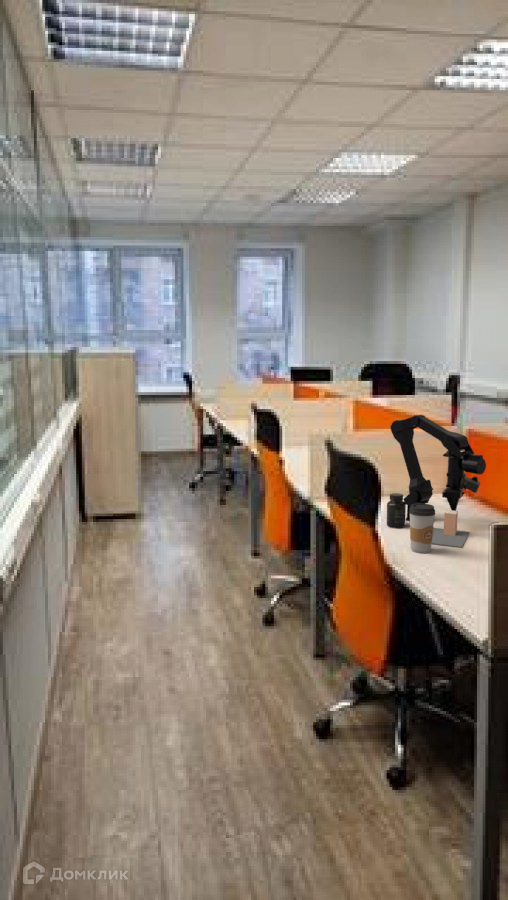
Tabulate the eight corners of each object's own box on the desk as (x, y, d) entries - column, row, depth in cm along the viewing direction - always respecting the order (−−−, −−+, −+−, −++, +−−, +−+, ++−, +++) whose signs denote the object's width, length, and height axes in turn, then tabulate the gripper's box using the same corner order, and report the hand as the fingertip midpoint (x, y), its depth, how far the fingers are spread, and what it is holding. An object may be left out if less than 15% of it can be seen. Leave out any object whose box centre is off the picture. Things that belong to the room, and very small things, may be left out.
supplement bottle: (406, 524, 252) (408, 493, 250) (402, 529, 246) (404, 497, 244) (388, 522, 255) (389, 491, 253) (384, 527, 249) (385, 495, 247)
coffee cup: (419, 555, 217) (421, 510, 214) (402, 548, 224) (404, 504, 221) (439, 552, 221) (441, 507, 218) (421, 545, 228) (423, 501, 225)
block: (443, 534, 239) (444, 512, 237) (445, 531, 242) (446, 509, 241) (455, 535, 237) (456, 513, 236) (456, 532, 240) (457, 510, 239)
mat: (422, 543, 230) (422, 542, 230) (432, 528, 247) (432, 527, 247) (461, 548, 225) (461, 546, 224) (469, 532, 242) (469, 531, 241)
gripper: (476, 477, 231) (473, 521, 234) (482, 467, 248) (480, 508, 250) (442, 474, 235) (440, 517, 238) (451, 464, 252) (449, 505, 255)
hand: (453, 512), depth 245 cm, fingers closed
